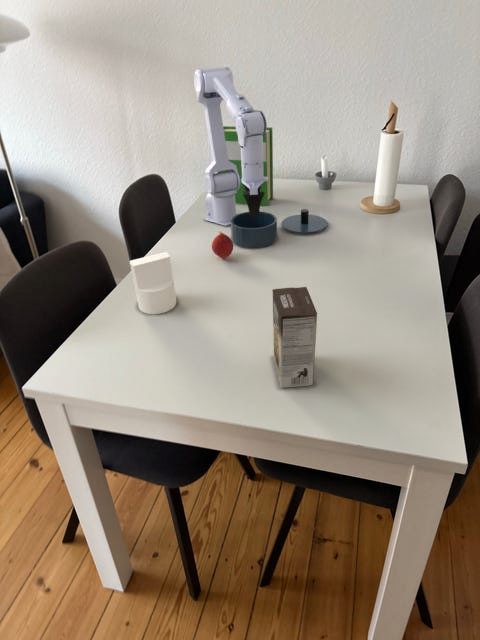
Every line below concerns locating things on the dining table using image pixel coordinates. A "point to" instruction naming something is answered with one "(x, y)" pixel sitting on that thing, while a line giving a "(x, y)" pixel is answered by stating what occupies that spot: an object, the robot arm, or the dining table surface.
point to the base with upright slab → (154, 283)
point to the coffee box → (294, 336)
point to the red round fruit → (222, 245)
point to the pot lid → (304, 223)
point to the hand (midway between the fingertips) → (253, 211)
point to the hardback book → (235, 158)
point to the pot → (254, 230)
